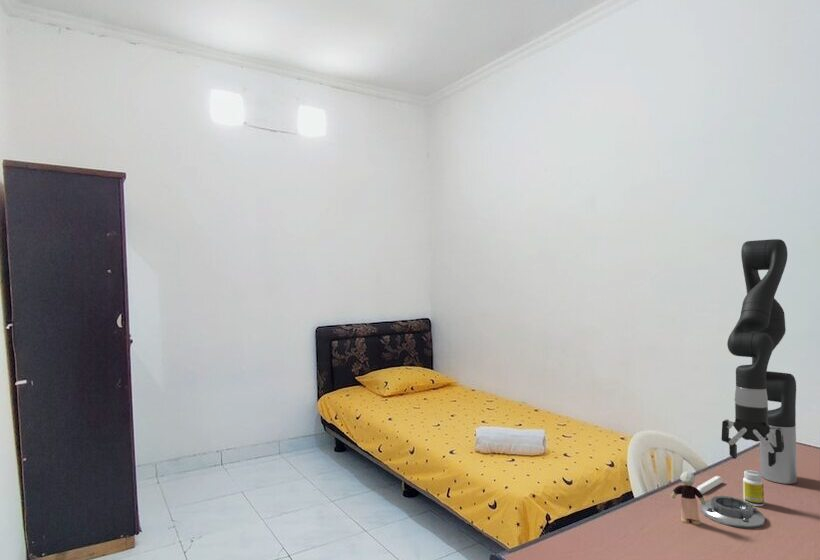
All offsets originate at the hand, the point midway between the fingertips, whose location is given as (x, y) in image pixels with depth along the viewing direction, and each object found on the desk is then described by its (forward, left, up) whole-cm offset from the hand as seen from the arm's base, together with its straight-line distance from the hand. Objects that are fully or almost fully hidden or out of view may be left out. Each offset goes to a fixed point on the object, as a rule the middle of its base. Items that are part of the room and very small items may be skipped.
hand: (752, 461), depth 137 cm
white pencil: (-2, -12, -12) cm, 17 cm away
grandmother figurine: (+24, -9, -12) cm, 28 cm away
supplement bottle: (0, 0, -12) cm, 12 cm away
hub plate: (+13, -2, -11) cm, 17 cm away
